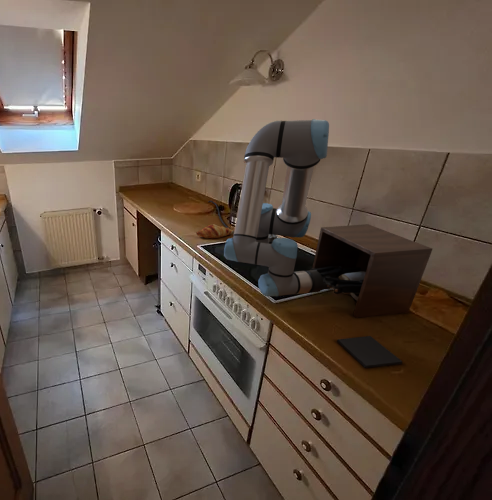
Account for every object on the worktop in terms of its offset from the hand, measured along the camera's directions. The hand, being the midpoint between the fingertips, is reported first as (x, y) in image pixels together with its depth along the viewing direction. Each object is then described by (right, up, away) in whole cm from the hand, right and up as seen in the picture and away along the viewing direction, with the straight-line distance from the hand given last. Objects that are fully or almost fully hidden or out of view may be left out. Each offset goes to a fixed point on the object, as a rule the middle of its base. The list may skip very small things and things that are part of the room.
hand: (368, 276), depth 102 cm
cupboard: (-4, -7, +2) cm, 8 cm away
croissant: (-38, +17, +62) cm, 74 cm away
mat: (-18, -18, -23) cm, 34 cm away
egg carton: (-12, +15, +55) cm, 58 cm away
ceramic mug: (-4, -7, +1) cm, 8 cm away
